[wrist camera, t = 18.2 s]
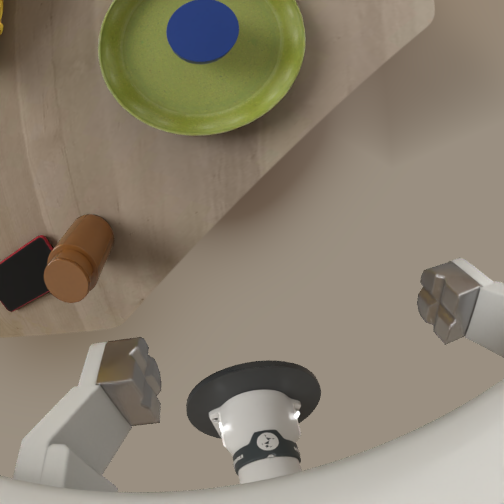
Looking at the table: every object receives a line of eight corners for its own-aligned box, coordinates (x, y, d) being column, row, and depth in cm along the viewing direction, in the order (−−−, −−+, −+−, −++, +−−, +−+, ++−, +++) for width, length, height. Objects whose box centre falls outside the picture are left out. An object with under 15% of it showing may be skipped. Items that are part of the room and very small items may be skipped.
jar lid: (162, 15, 23) (159, 9, 21) (227, -1, 23) (229, -9, 21) (177, 72, 26) (175, 70, 24) (242, 55, 26) (246, 52, 24)
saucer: (137, 157, 32) (131, 164, 30) (89, -2, 22) (80, -9, 19) (315, 106, 33) (326, 108, 30) (270, -50, 23) (277, -61, 20)
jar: (121, 250, 37) (103, 299, 28) (82, 263, 37) (58, 312, 28) (102, 207, 34) (75, 247, 25) (63, 223, 34) (29, 264, 25)
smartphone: (-18, 276, 34) (41, 234, 33) (-16, 273, 34) (44, 231, 34) (9, 313, 37) (72, 279, 37) (12, 310, 38) (74, 276, 37)
